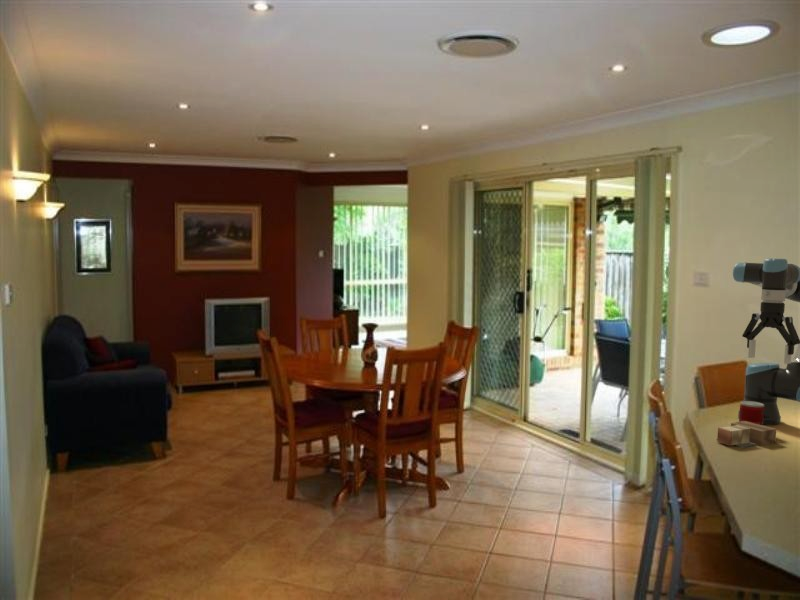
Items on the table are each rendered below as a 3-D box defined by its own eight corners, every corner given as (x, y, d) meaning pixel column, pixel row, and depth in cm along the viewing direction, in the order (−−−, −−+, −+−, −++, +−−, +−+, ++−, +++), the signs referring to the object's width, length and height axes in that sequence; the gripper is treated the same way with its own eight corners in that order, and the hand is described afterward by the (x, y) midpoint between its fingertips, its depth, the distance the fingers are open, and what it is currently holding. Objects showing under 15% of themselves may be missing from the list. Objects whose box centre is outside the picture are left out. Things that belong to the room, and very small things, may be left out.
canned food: (765, 435, 249) (767, 406, 248) (741, 433, 251) (743, 404, 250) (758, 430, 257) (760, 401, 256) (736, 428, 258) (737, 400, 257)
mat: (731, 437, 245) (731, 436, 245) (756, 444, 237) (756, 443, 237) (716, 440, 242) (716, 439, 242) (742, 447, 233) (742, 446, 233)
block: (737, 425, 242) (718, 427, 238) (750, 428, 238) (730, 431, 233) (736, 438, 243) (717, 441, 238) (749, 442, 238) (729, 445, 234)
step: (744, 434, 251) (745, 420, 250) (775, 442, 240) (776, 428, 240) (730, 436, 247) (731, 423, 246) (761, 445, 236) (762, 431, 236)
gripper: (734, 299, 250) (730, 355, 252) (801, 304, 228) (796, 366, 230) (747, 298, 254) (743, 354, 255) (814, 304, 232) (810, 365, 233)
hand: (768, 360), depth 243 cm, fingers open, 13 cm apart
